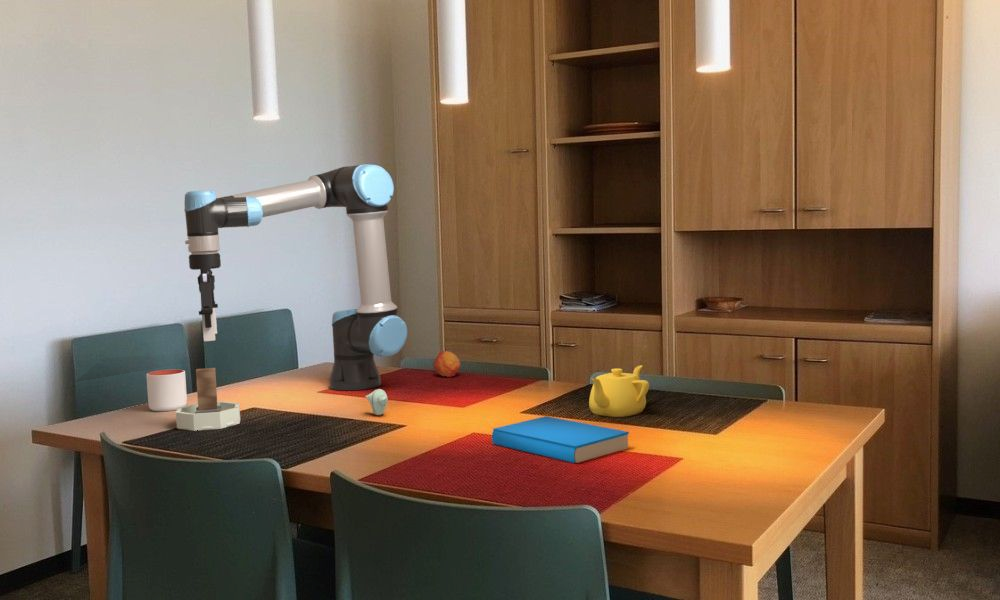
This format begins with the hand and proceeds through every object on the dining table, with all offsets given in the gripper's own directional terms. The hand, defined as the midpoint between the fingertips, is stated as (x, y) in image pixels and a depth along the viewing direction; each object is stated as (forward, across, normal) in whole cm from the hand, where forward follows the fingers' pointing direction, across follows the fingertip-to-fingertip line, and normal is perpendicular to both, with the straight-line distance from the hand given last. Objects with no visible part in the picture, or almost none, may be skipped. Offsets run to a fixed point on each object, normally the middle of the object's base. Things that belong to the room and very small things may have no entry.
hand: (210, 337), depth 248 cm
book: (+23, +58, +73) cm, 96 cm away
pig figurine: (+22, +10, +40) cm, 47 cm away
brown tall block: (+21, +2, -2) cm, 21 cm away
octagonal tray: (+21, +2, -2) cm, 22 cm away
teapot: (+23, +30, +98) cm, 105 cm away
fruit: (+23, -40, +68) cm, 82 cm away
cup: (+22, -23, -14) cm, 34 cm away
